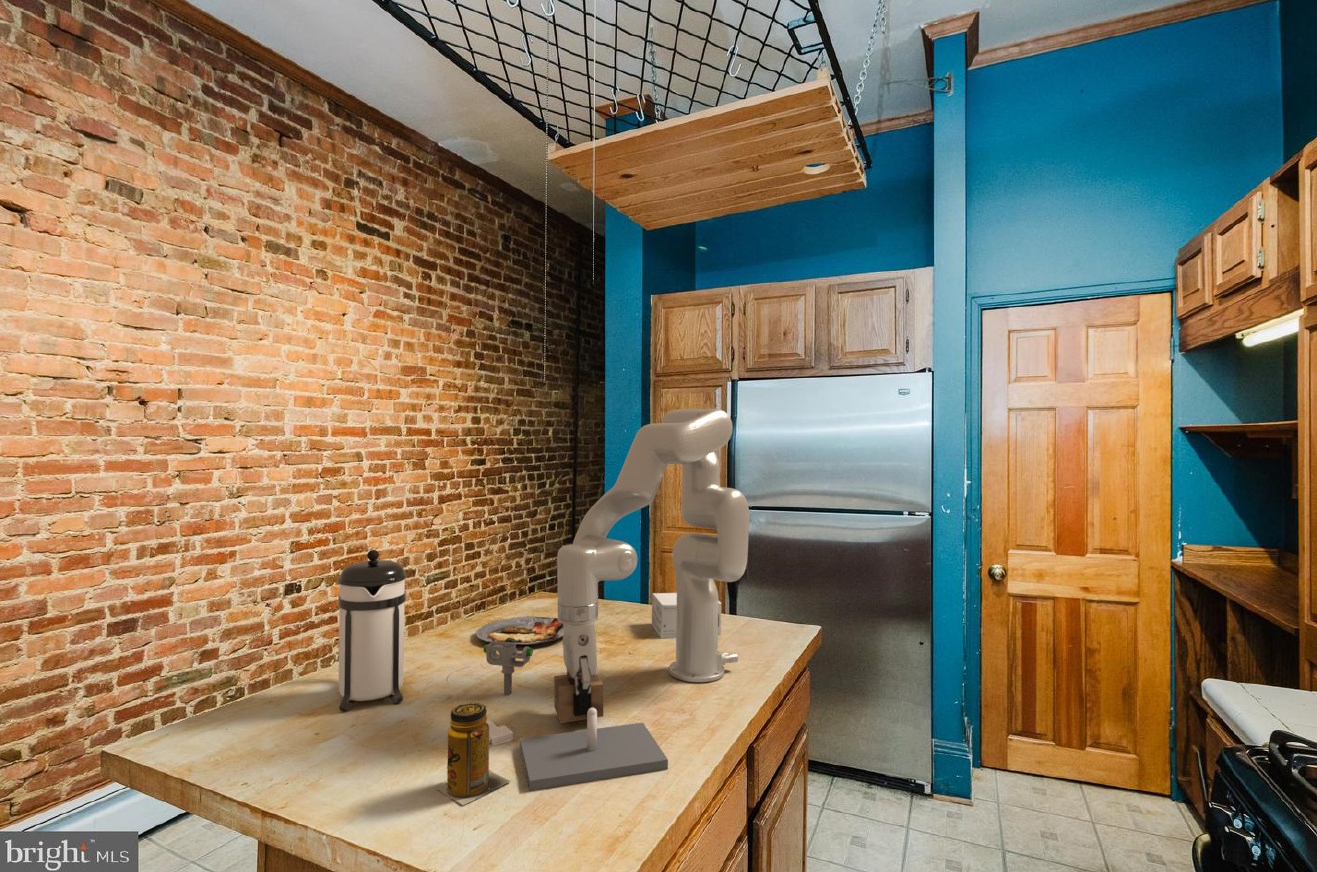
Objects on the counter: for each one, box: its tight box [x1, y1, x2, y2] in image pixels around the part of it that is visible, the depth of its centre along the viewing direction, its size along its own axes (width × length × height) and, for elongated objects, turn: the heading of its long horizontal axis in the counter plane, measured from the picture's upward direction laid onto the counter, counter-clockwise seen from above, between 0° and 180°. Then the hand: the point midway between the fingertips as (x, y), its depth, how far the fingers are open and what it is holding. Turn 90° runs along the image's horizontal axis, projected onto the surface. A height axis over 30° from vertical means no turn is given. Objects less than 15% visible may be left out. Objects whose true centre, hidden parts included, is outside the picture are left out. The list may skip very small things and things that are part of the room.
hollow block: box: [553, 671, 604, 724], centre depth 120 cm, size 8×7×6 cm
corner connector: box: [486, 719, 514, 746], centre depth 114 cm, size 8×8×2 cm
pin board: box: [519, 708, 669, 792], centre depth 107 cm, size 22×14×8 cm, turn 108°
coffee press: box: [337, 549, 408, 713], centre depth 131 cm, size 17×16×30 cm
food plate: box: [475, 615, 563, 645], centre depth 171 cm, size 25×23×4 cm
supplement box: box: [651, 592, 722, 640], centre depth 178 cm, size 17×13×9 cm
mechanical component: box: [483, 642, 534, 696], centre depth 133 cm, size 3×10×10 cm, turn 78°
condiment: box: [435, 702, 511, 806], centre depth 98 cm, size 7×8×12 cm
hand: (578, 705), depth 120 cm, fingers closed on hollow block, 6 cm apart
